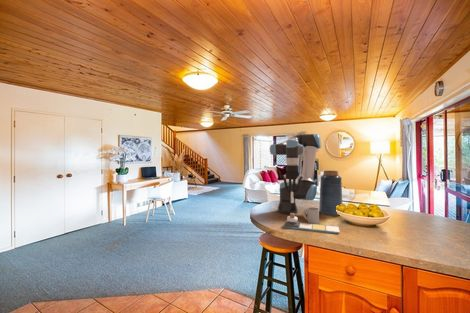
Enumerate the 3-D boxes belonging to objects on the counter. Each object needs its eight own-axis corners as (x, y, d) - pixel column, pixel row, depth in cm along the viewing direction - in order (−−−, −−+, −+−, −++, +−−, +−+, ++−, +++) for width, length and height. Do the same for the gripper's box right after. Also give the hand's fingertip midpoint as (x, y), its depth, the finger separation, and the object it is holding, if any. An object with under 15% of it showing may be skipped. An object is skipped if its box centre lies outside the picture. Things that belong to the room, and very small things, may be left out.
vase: (321, 215, 160) (321, 172, 159) (317, 209, 176) (317, 170, 175) (345, 216, 156) (345, 172, 155) (339, 210, 172) (339, 170, 171)
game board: (286, 222, 145) (286, 219, 145) (338, 228, 133) (338, 224, 133) (283, 227, 135) (283, 224, 134) (339, 234, 123) (339, 231, 123)
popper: (287, 218, 142) (287, 211, 142) (298, 219, 140) (298, 212, 140) (286, 221, 136) (286, 214, 136) (297, 222, 134) (297, 215, 134)
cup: (317, 224, 140) (317, 210, 139) (301, 222, 145) (301, 208, 145) (320, 221, 146) (320, 208, 146) (304, 219, 151) (304, 206, 151)
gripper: (280, 164, 136) (280, 202, 136) (302, 165, 131) (302, 204, 132) (282, 164, 143) (282, 200, 143) (303, 164, 138) (303, 202, 139)
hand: (292, 202), depth 137 cm, fingers closed
